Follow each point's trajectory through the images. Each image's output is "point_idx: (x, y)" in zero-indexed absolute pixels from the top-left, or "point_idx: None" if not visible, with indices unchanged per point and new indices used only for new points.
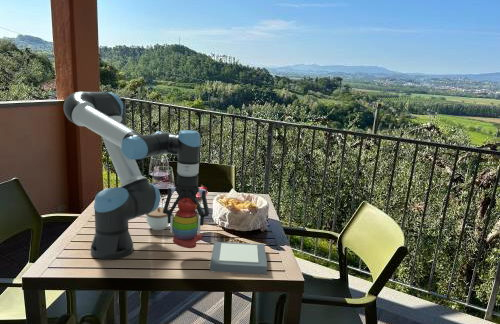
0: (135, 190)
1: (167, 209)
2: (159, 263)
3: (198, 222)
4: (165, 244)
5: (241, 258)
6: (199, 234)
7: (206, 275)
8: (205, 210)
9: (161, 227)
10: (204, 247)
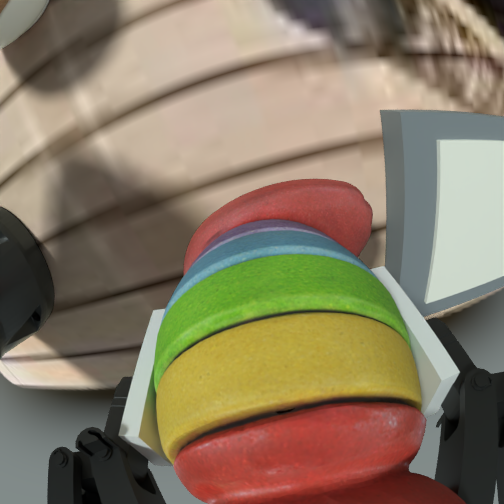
0: None
1: (84, 480)
2: None
3: None
4: (111, 138)
5: (489, 264)
6: (362, 224)
7: None
8: (500, 450)
9: (32, 22)
10: (330, 103)
